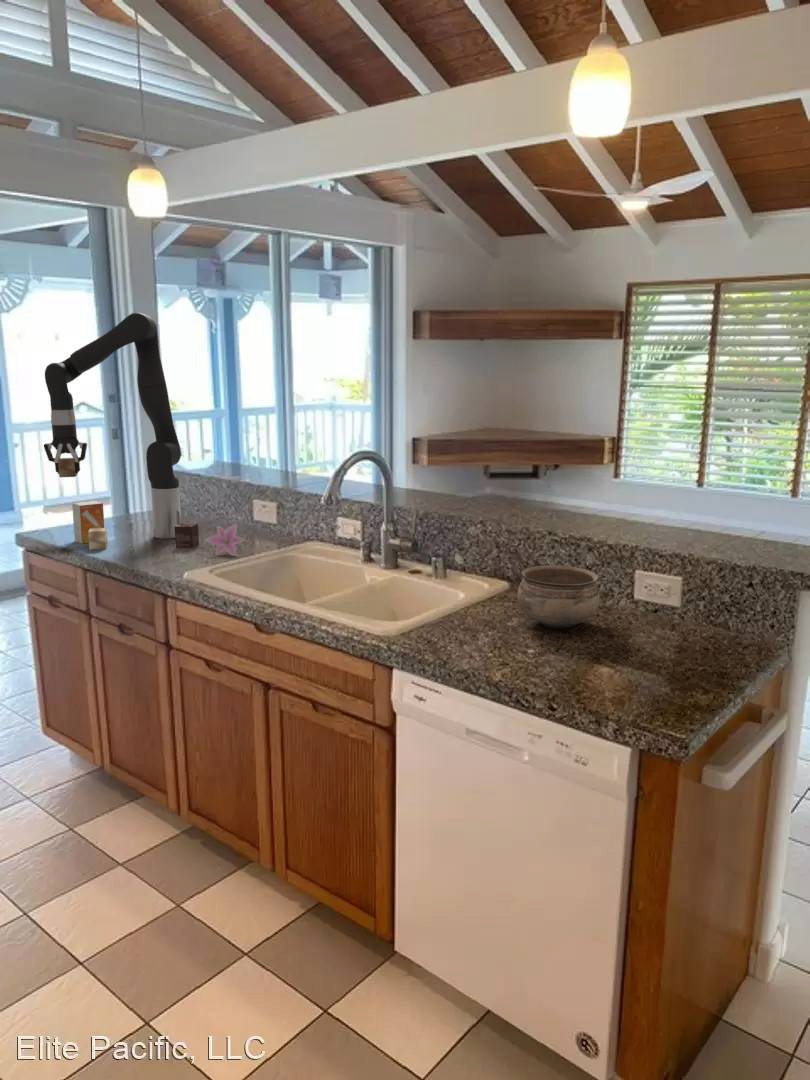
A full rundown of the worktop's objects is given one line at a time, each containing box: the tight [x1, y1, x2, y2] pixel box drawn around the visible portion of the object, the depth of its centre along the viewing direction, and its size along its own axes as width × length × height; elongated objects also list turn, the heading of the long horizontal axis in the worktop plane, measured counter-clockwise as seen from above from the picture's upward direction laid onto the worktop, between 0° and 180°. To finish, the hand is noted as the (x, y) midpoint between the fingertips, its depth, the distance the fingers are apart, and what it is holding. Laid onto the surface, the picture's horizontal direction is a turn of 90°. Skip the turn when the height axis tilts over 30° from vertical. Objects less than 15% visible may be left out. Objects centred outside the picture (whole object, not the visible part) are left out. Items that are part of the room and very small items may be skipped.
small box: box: [71, 500, 105, 545], centre depth 269 cm, size 8×6×13 cm
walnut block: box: [58, 457, 78, 478], centre depth 274 cm, size 5×5×6 cm
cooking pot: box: [517, 564, 601, 630], centre depth 188 cm, size 25×19×12 cm
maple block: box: [88, 527, 109, 551], centre depth 261 cm, size 5×5×6 cm
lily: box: [205, 523, 245, 557], centre depth 256 cm, size 11×11×9 cm
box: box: [174, 522, 200, 549], centre depth 264 cm, size 6×6×7 cm
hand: (68, 473), depth 275 cm, fingers closed on walnut block, 5 cm apart
